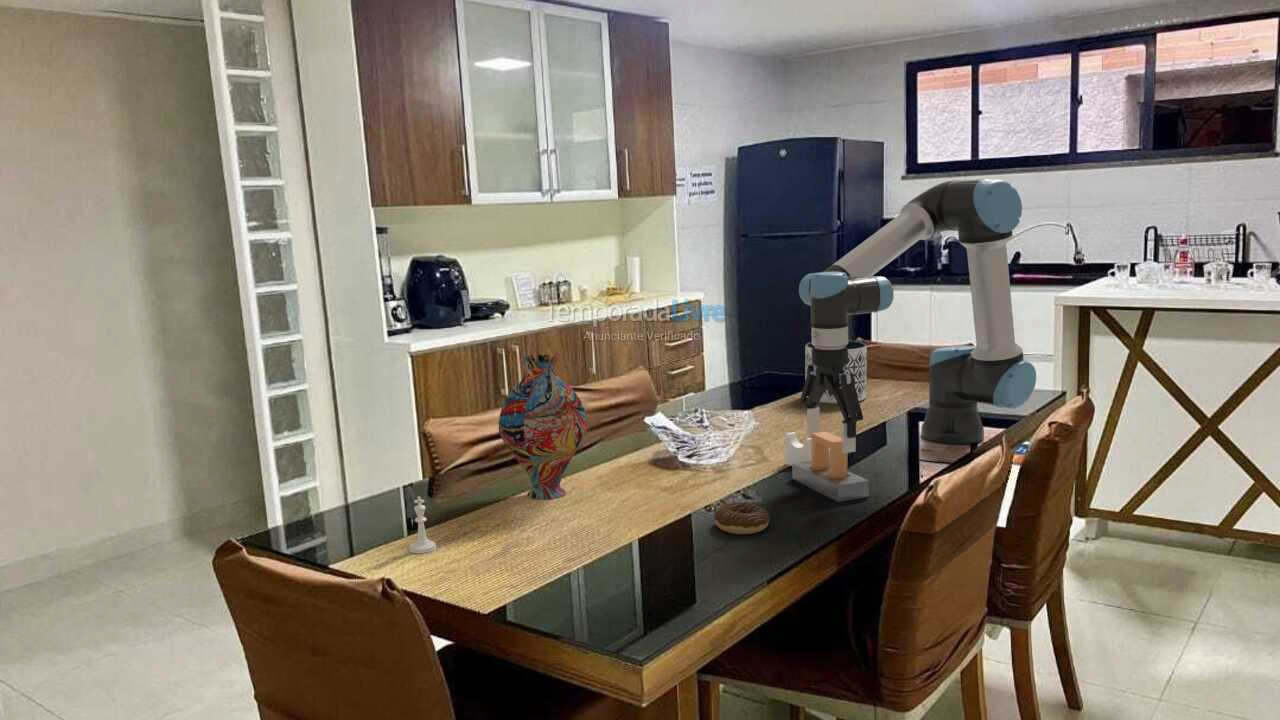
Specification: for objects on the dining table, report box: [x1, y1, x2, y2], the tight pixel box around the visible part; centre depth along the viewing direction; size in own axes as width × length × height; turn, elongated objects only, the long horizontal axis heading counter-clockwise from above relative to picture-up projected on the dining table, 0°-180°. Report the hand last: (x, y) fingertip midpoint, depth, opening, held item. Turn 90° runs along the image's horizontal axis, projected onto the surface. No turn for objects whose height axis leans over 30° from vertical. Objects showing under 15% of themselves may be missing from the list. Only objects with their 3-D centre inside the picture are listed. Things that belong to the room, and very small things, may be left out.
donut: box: [713, 501, 771, 535], centre depth 183 cm, size 11×11×4 cm
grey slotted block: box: [791, 461, 870, 503], centre depth 205 cm, size 8×18×4 cm, turn 22°
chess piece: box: [408, 496, 437, 554], centre depth 176 cm, size 5×5×10 cm
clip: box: [812, 431, 848, 479], centre depth 204 cm, size 4×8×10 cm, turn 22°
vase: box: [498, 353, 588, 501], centre depth 204 cm, size 19×19×30 cm
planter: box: [804, 339, 868, 405], centre depth 290 cm, size 18×18×16 cm
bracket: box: [785, 431, 830, 467], centre depth 224 cm, size 13×7×8 cm, turn 130°
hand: (830, 444), depth 204 cm, fingers open, 13 cm apart
